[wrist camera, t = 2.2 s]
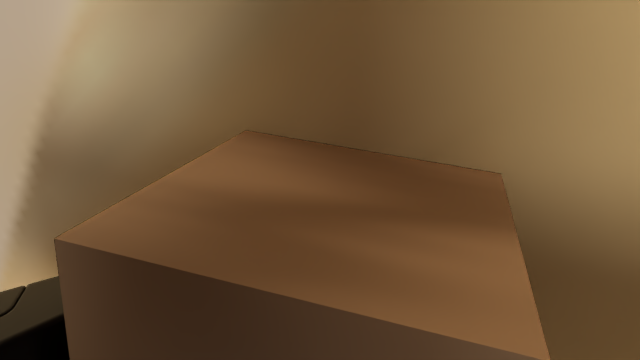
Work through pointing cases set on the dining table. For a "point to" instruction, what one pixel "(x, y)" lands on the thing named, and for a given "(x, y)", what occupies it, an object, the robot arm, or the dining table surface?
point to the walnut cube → (301, 262)
